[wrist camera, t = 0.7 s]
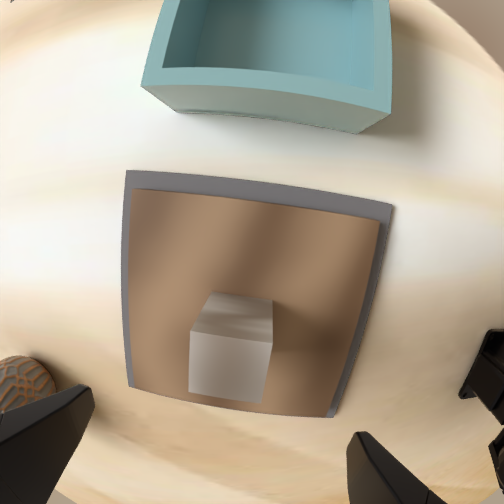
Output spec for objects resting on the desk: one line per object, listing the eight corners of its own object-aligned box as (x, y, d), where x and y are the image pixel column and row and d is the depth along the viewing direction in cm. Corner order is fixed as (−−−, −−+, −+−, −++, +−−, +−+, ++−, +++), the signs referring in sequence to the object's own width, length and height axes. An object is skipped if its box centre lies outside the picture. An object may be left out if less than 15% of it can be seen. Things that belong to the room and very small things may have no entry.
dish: (360, 0, 12) (382, -44, 7) (356, 134, 14) (390, 114, 10) (206, -17, 13) (189, -63, 8) (176, 112, 15) (140, 86, 10)
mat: (389, 204, 15) (392, 204, 15) (332, 414, 18) (333, 417, 18) (129, 170, 16) (126, 170, 15) (130, 383, 19) (128, 386, 18)
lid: (373, 219, 15) (420, 235, 10) (323, 408, 18) (335, 467, 12) (139, 188, 15) (84, 191, 10) (139, 379, 18) (107, 430, 13)
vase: (65, 366, 19) (5, 427, 11) (70, 416, 21) (27, 472, 12) (12, 332, 19) (-49, 375, 11) (21, 384, 21) (-26, 428, 12)
